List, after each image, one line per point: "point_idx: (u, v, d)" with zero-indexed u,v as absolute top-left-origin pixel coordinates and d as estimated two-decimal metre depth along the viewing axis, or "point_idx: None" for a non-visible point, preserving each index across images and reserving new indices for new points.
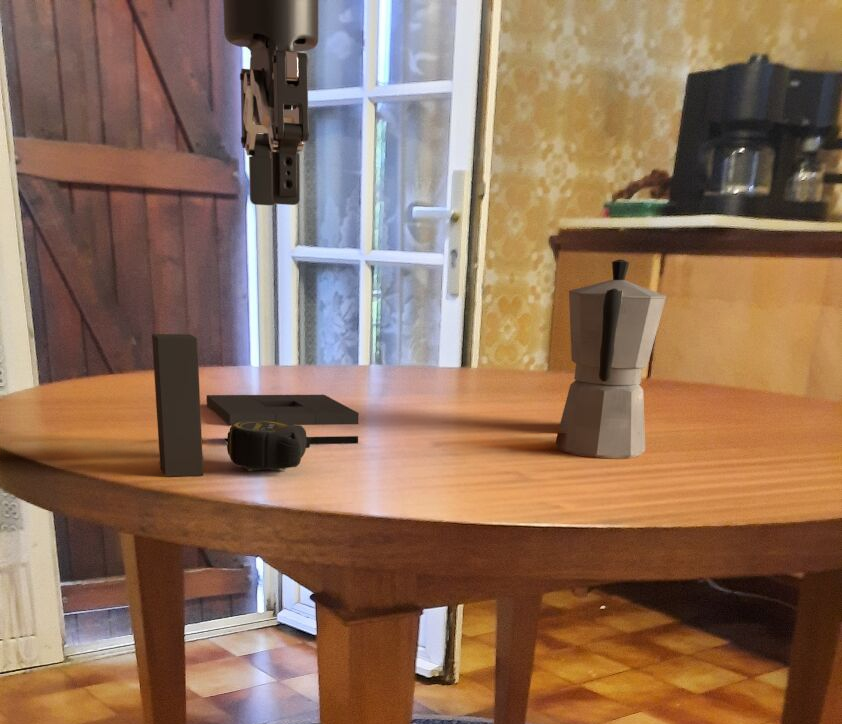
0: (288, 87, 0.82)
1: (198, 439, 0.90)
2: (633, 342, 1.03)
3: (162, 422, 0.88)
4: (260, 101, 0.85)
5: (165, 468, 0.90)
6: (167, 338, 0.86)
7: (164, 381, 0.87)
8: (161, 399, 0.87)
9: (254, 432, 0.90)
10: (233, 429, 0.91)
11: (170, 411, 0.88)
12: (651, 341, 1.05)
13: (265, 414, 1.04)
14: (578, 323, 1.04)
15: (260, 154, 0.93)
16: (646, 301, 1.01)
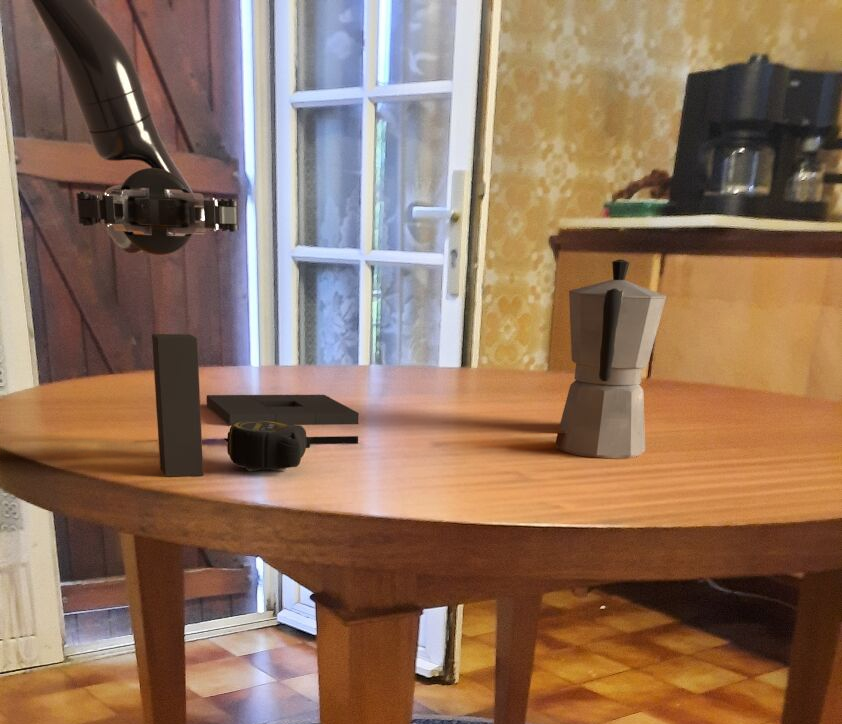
0: None
1: (198, 439, 0.90)
2: (633, 342, 1.03)
3: (162, 422, 0.88)
4: None
5: (165, 468, 0.90)
6: (167, 338, 0.86)
7: (164, 381, 0.87)
8: (161, 399, 0.87)
9: (254, 432, 0.90)
10: (233, 429, 0.91)
11: (170, 411, 0.88)
12: (651, 341, 1.05)
13: (265, 414, 1.04)
14: (578, 323, 1.04)
15: None
16: (647, 301, 1.01)
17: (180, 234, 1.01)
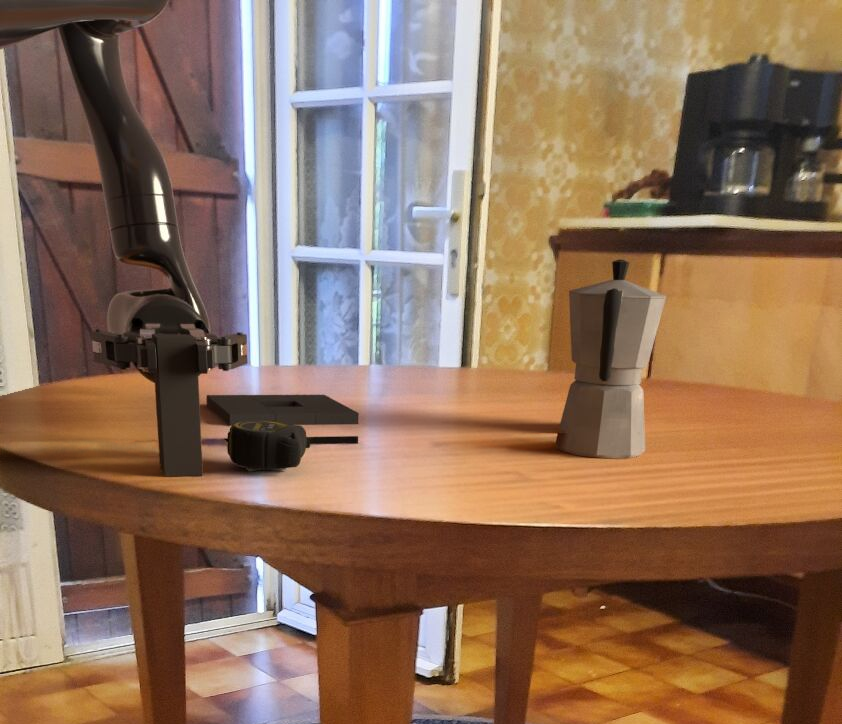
0: (241, 347, 0.93)
1: (197, 439, 0.90)
2: (633, 342, 1.03)
3: (161, 422, 0.88)
4: (197, 329, 0.92)
5: (164, 468, 0.90)
6: (166, 338, 0.86)
7: (164, 381, 0.87)
8: (160, 399, 0.87)
9: (254, 432, 0.90)
10: (233, 429, 0.91)
11: (170, 411, 0.88)
12: (651, 341, 1.05)
13: (265, 414, 1.04)
14: (578, 323, 1.04)
15: None
16: (647, 301, 1.01)
17: None
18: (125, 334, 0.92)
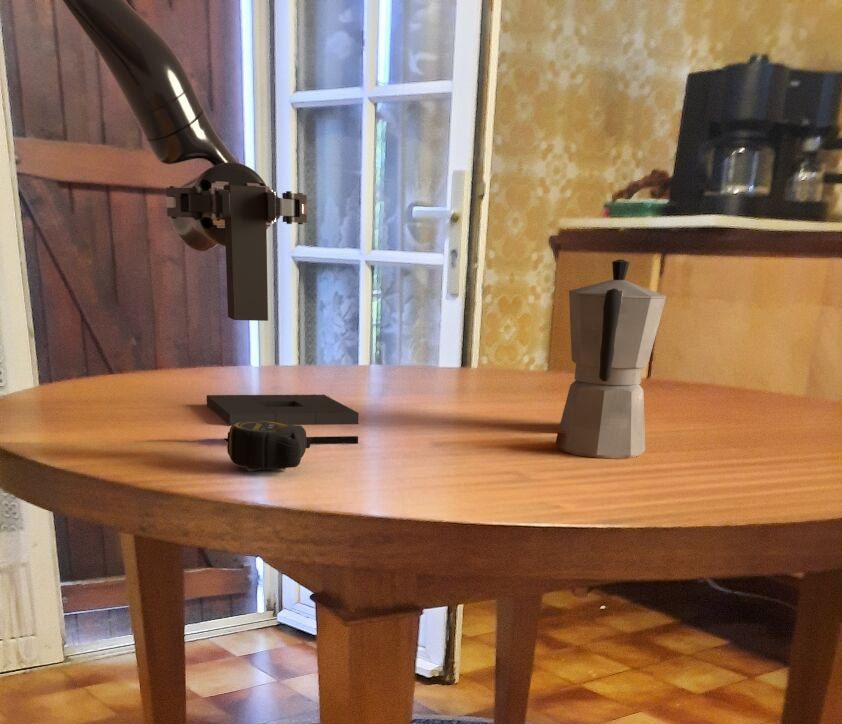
0: (302, 204, 1.01)
1: (264, 285, 0.98)
2: (633, 342, 1.03)
3: (232, 267, 0.96)
4: None
5: (234, 312, 0.98)
6: (239, 186, 0.94)
7: (235, 227, 0.95)
8: (232, 245, 0.95)
9: (254, 432, 0.90)
10: (233, 429, 0.91)
11: (240, 256, 0.96)
12: (651, 341, 1.05)
13: (265, 414, 1.04)
14: (578, 323, 1.04)
15: None
16: (647, 301, 1.01)
17: None
18: None
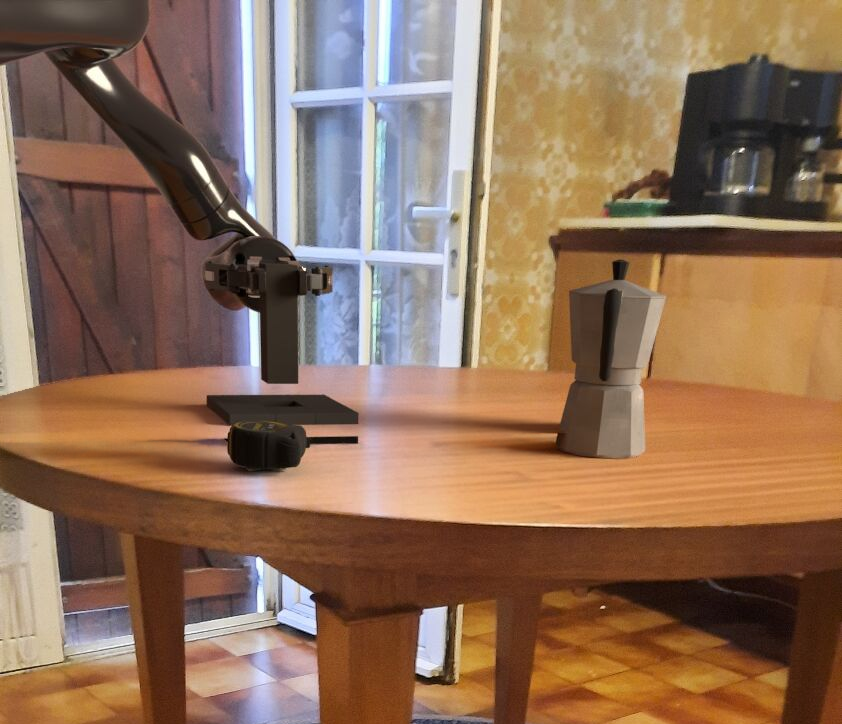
0: (329, 277, 1.11)
1: (295, 352, 1.07)
2: (633, 342, 1.03)
3: (266, 337, 1.06)
4: None
5: (267, 376, 1.07)
6: (273, 265, 1.03)
7: (270, 302, 1.04)
8: (266, 317, 1.05)
9: (254, 432, 0.90)
10: (233, 429, 0.91)
11: (274, 327, 1.06)
12: (651, 341, 1.05)
13: (265, 414, 1.04)
14: (578, 323, 1.04)
15: None
16: (647, 301, 1.01)
17: None
18: None
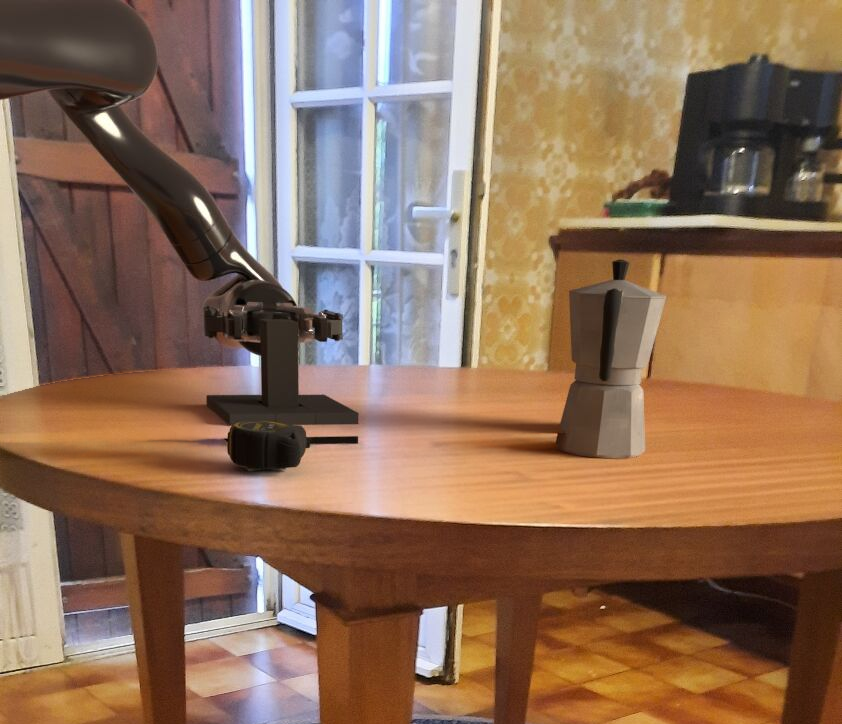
0: None
1: (296, 405, 1.09)
2: (633, 342, 1.03)
3: (267, 391, 1.08)
4: None
5: None
6: (274, 322, 1.05)
7: (271, 357, 1.07)
8: (267, 372, 1.07)
9: (254, 432, 0.90)
10: (233, 429, 0.91)
11: (274, 381, 1.08)
12: (651, 341, 1.05)
13: (265, 414, 1.04)
14: (578, 323, 1.04)
15: None
16: (647, 301, 1.01)
17: None
18: None
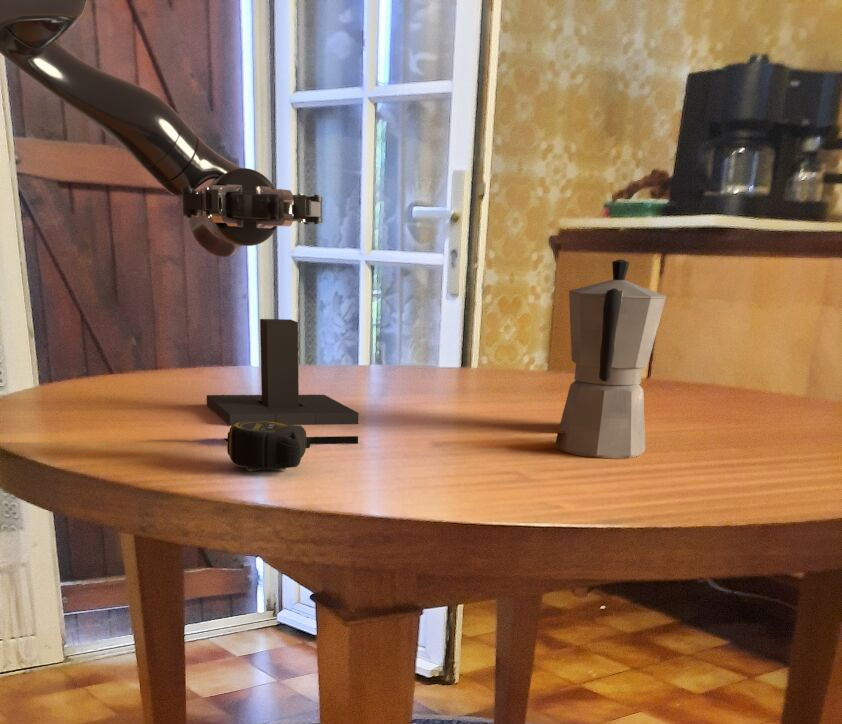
0: None
1: (296, 405, 1.09)
2: (633, 342, 1.03)
3: (267, 391, 1.08)
4: None
5: None
6: (274, 322, 1.05)
7: (271, 357, 1.07)
8: (267, 372, 1.07)
9: (254, 432, 0.90)
10: (233, 429, 0.91)
11: (274, 381, 1.08)
12: (651, 341, 1.05)
13: (265, 414, 1.04)
14: (578, 323, 1.04)
15: None
16: (647, 301, 1.01)
17: (268, 226, 1.13)
18: None
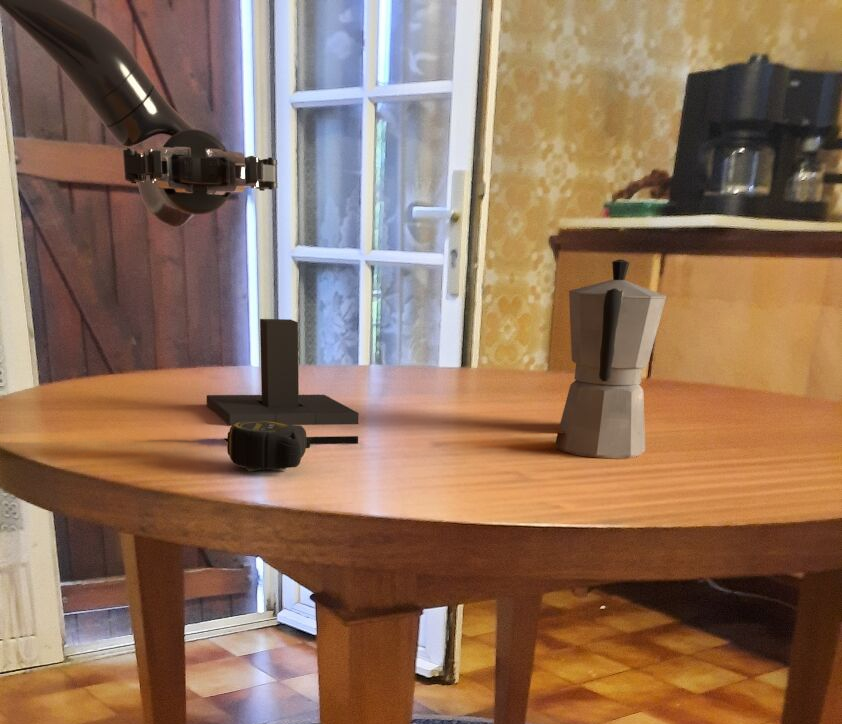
0: None
1: (296, 405, 1.09)
2: (633, 342, 1.03)
3: (267, 391, 1.08)
4: None
5: None
6: (274, 322, 1.05)
7: (271, 357, 1.07)
8: (267, 372, 1.07)
9: (254, 432, 0.90)
10: (233, 429, 0.91)
11: (274, 381, 1.08)
12: (651, 341, 1.05)
13: (265, 414, 1.04)
14: (578, 323, 1.04)
15: None
16: (647, 301, 1.01)
17: (220, 192, 1.05)
18: None
